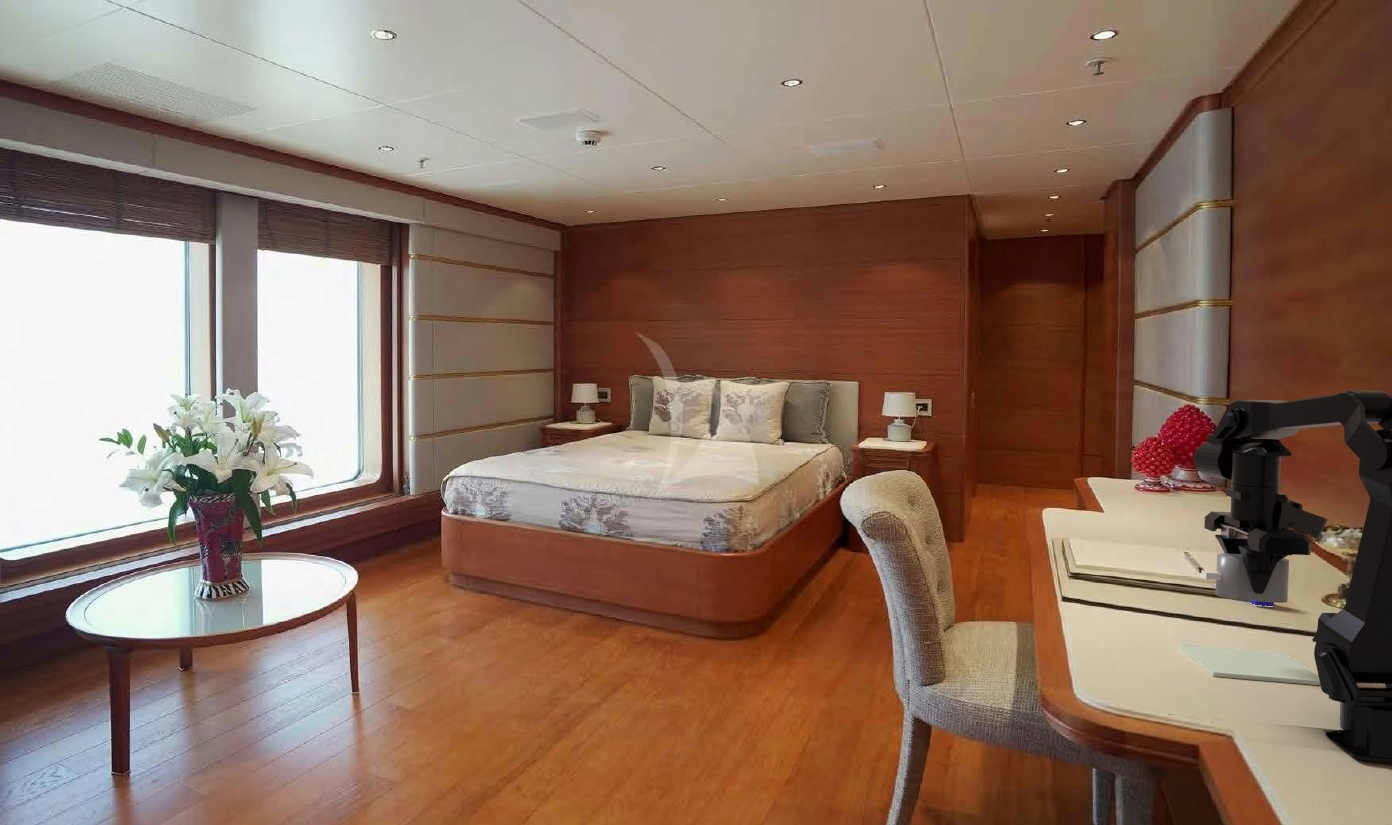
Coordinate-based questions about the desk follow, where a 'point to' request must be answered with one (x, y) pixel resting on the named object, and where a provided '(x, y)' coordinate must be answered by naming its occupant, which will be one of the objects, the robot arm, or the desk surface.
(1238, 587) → the rounded connector
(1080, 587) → the desk surface
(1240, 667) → the sage pad
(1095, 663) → the desk surface
